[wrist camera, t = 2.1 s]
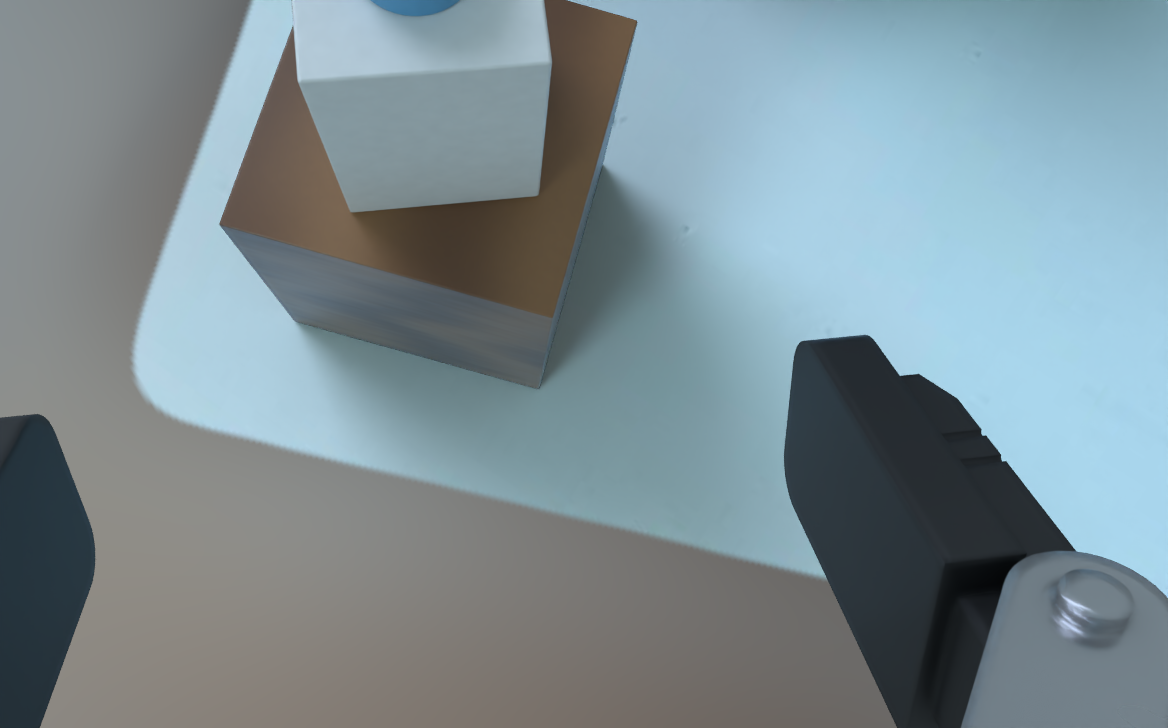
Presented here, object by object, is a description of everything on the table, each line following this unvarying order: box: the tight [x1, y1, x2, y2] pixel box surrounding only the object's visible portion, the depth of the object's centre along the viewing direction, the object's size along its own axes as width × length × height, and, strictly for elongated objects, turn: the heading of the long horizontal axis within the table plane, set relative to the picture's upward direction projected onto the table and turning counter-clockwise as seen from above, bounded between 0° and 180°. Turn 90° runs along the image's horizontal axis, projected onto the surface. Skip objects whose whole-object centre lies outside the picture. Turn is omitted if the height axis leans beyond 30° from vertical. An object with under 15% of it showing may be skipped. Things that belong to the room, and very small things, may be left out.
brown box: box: [220, 0, 637, 389], centre depth 33 cm, size 9×9×10 cm
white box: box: [291, 0, 552, 212], centre depth 24 cm, size 5×5×8 cm
